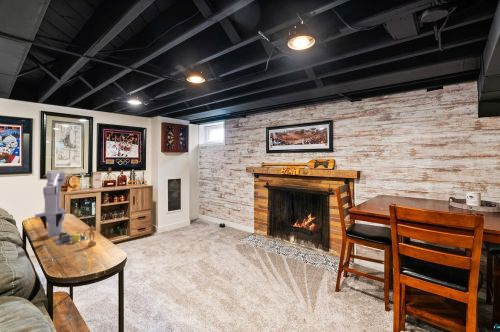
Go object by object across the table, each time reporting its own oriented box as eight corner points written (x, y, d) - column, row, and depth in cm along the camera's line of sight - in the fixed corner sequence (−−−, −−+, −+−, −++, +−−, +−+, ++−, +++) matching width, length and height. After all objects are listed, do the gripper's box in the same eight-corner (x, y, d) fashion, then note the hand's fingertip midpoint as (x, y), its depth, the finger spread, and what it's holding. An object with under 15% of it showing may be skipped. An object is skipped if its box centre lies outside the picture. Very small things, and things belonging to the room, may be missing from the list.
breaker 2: (61, 241, 146) (61, 235, 146) (68, 239, 148) (68, 234, 148) (62, 242, 144) (62, 236, 144) (69, 240, 147) (69, 235, 146)
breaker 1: (58, 238, 151) (58, 232, 151) (65, 236, 153) (65, 231, 153) (59, 239, 149) (59, 233, 149) (66, 237, 151) (66, 232, 151)
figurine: (84, 249, 137) (83, 229, 136) (82, 246, 141) (82, 226, 141) (101, 246, 142) (100, 226, 142) (99, 243, 147) (99, 224, 146)
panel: (52, 240, 150) (52, 236, 150) (80, 235, 162) (80, 231, 161) (58, 248, 139) (58, 243, 139) (89, 241, 150) (88, 236, 150)
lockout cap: (71, 241, 147) (71, 234, 147) (79, 239, 150) (79, 233, 150) (73, 242, 144) (73, 236, 144) (81, 241, 147) (81, 234, 147)
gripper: (36, 208, 138) (36, 231, 139) (67, 204, 149) (67, 226, 150) (34, 206, 143) (34, 229, 143) (64, 203, 154) (64, 224, 154)
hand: (51, 227), depth 147 cm, fingers open, 5 cm apart
